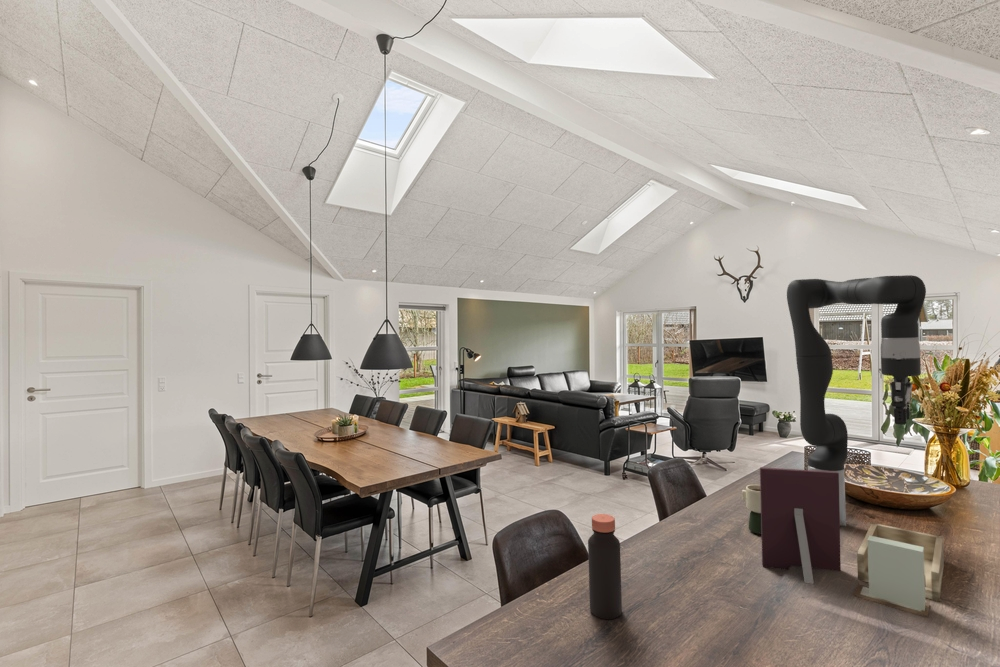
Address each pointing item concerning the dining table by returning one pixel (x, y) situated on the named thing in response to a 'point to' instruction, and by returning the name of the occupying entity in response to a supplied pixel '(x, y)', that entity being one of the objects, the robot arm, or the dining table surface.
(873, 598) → the board
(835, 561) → the picture frame
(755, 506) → the character mug
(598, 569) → the bottle
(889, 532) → the tray
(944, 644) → the dining table surface
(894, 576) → the pale green slanted prism
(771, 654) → the dining table surface
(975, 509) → the dining table surface
